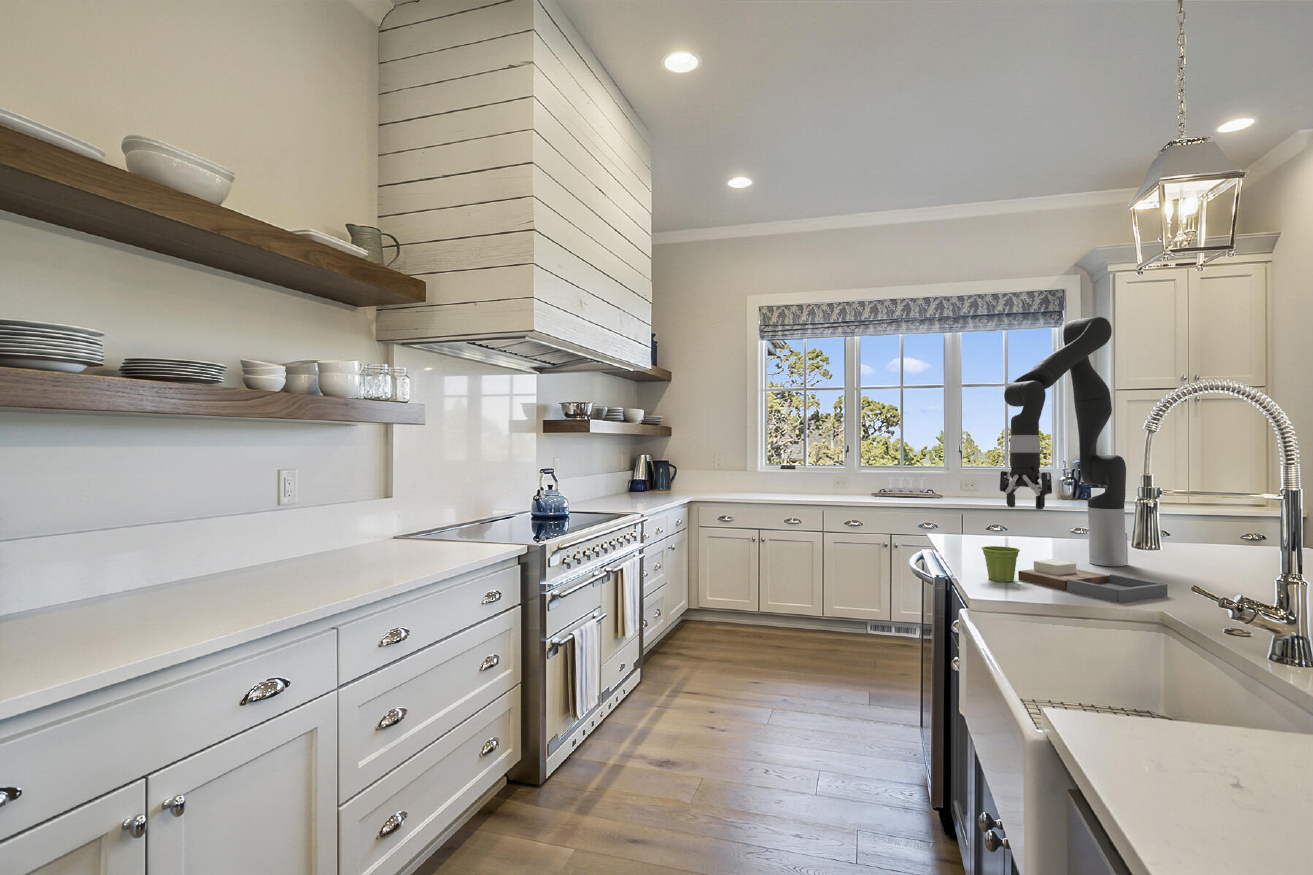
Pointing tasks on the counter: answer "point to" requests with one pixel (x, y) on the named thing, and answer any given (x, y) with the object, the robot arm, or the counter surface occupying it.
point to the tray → (1120, 589)
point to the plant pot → (1001, 562)
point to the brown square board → (1061, 578)
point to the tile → (1055, 567)
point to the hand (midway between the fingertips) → (1025, 508)
